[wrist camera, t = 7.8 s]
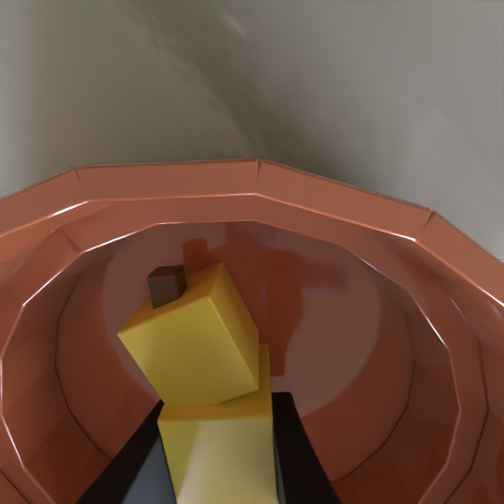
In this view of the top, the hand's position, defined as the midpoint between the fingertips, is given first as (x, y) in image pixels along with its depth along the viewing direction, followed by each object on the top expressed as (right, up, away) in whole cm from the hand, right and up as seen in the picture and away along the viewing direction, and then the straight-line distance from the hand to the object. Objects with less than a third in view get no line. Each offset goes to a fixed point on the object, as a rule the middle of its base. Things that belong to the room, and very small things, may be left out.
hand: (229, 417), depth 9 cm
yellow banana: (0, 0, +1) cm, 1 cm away
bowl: (0, +1, +2) cm, 2 cm away
